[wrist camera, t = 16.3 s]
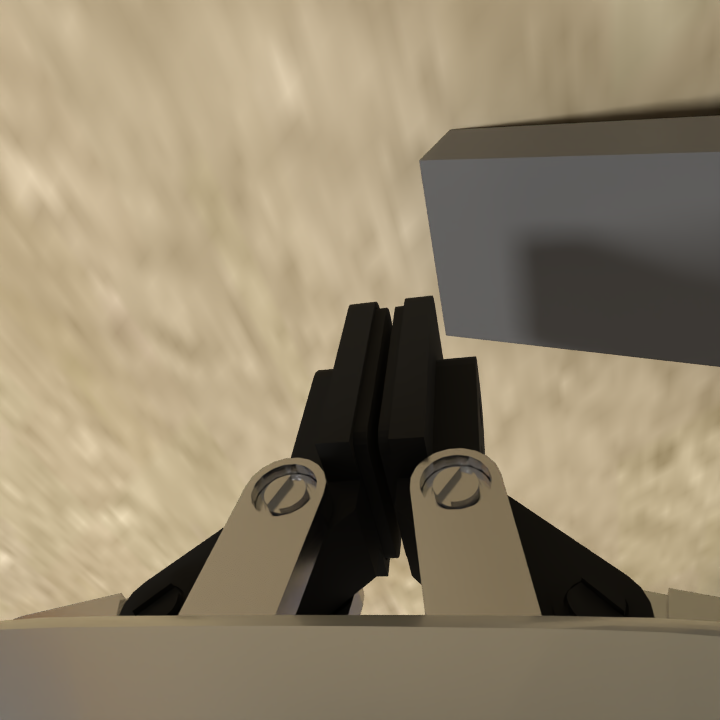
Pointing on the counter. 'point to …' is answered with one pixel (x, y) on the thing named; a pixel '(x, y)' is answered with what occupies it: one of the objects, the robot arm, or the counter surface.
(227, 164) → the counter surface
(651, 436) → the counter surface
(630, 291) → the domino
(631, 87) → the counter surface
